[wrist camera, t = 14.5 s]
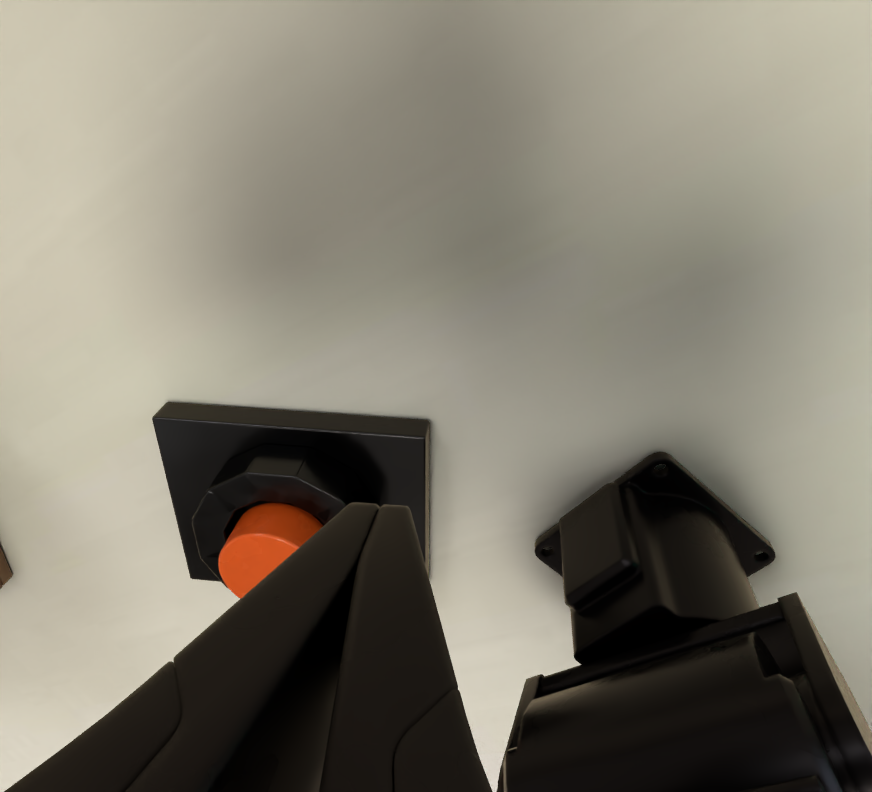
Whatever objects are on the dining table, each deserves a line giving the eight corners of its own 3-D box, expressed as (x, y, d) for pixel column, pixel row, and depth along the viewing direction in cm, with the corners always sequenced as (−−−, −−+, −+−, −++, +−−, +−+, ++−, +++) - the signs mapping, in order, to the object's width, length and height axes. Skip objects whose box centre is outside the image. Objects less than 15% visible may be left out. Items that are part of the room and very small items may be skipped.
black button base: (429, 419, 24) (418, 467, 21) (429, 580, 28) (419, 638, 25) (166, 401, 25) (124, 445, 22) (202, 559, 29) (169, 612, 26)
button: (329, 505, 23) (315, 539, 21) (336, 580, 25) (323, 617, 23) (229, 497, 23) (209, 530, 22) (243, 572, 25) (225, 607, 23)
